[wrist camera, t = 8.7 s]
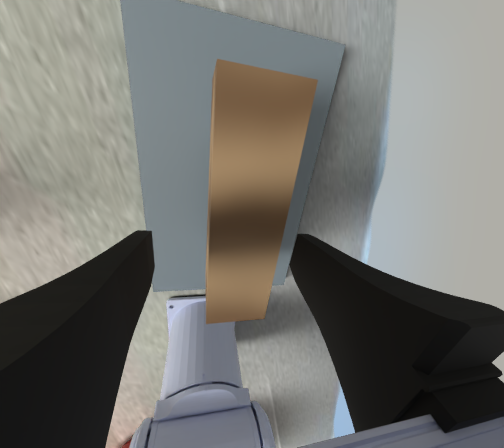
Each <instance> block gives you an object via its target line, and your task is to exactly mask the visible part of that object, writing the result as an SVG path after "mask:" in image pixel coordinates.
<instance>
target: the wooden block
mask: <svg viewBox="0 0 504 448" xmlns="http://www.w3.org/2000/svg"><path fill="white" fill-rule="evenodd" d="M317 82H318V80H317V79H312V78H307V77H303V76H298V75H293V74H288V73H283V72H279V71H274V70H269V69H264V68H259V67H255V66H250V65H245V64H240V63H235V62H231V61H226V60H221V59H217V62H216V66H215V70H214V74H213V79H212V102H211V131H210V159H209V188H208V216H207V245H206V273H205V274H206V324H213V323H224V322H235V321H246V320H257V319H264V318H265V314H266V309H267V305H268V300H269V296H270V292H271V287H272V283H273V278H274V274H275V269H276V265H277V260H278V256H279V252H280V247H281V243H282V238H283V234H284V229H285V225H286V220H287V216H288V211H289V207H290V203H291V198H292V194H293V189H294V185H295V180H296V176H297V171H298V167H299V162H300V158H301V154H302V149H303V145H304V140H305V136H306V131H307V127H308V122H309V118H310V114H311V109H312V105H313V100H314V96H315V91H316V87H317Z"/></svg>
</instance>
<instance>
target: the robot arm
mask: <svg viewBox="0 0 504 448" xmlns="http://www.w3.org/2000/svg"><path fill="white" fill-rule="evenodd" d="M289 265H290V268H291V271H292V274H293V277H294V279H295V282H296V284H297V286H298V288H299V289H300V291H301V293H302V295H303V297H304V299H305V301H306V303H307V304H308V306H309V308H310V310H311V312H312V314H313V316H314V318H315V320H316V322H317V324H318V326H319V328H320V331H321V333H322V336H323V338H324V340H325V343H326V345H327V348H328V351H329V353H330V356H331V359H332V361H333V364H334V367H335V370H336V372H337V375H338V378H339V381H340V384H341V387H342V390H343V393H344V396H345V399H346V403H347V406H348V409H349V412H350V416H351V419H352V423H353V426H354V429H355V433H353V434H349V435H345V436H341V437H337V438H333V439H329V440H325V441H321V442H317V443H314V444H310V445H306V446H302V447H298V448H504V383H503V382H502V381H501V380H500V379H499V378H498V377H500V376H501V375H502V372H501V371H500V370H499V369H498V368H497V367H496V366H495V365H494V364H492V362H493V361H494V360H495V359H496V358H497V357H498V356H499V355H500V354H501V353H502V352H504V311H503V310H501V309H499V308H497V307H495V306H492V305H489V304H485V303H481V302H477V301H473V300H469V299H465V298H461V297H457V296H453V295H449V294H446V293H442V292H439V291H436V290H432V289H429V288H426V287H423V286H420V285H416V284H413V283H411V282H408V281H405V280H402V279H400V278H397V277H394V276H392V275H389V274H387V273H384V272H382V271H380V270H378V269H375V268H373V267H371V266H369V265H366V264H364V263H362V262H360V261H358V260H356V259H354V258H352V257H350V256H349V255H347V254H345V253H343V252H341V251H339V250H338V249H336V248H334V247H332V246H330V245H329V244H327V243H325V242H323V241H321V240H319V239H318V238H316V237H314V236H311V235H309V234H297V238H296V242H295V246H294V249H293V253H292V257H291V260H290V264H289ZM154 269H155V262H154V250H153V238H152V231H139V230H137V231H135V232H134V233H132V234H130V235H129V236H127V237H126V238H124V239H123V240H121V241H120V242H119V243H117V244H115V245H114V246H112V247H111V248H109V249H108V250H106V251H105V252H103V253H102V254H100V255H98V256H97V257H95V258H93V259H92V260H90V261H88V262H86V263H85V264H83V265H81V266H80V267H78V268H76V269H74V270H72V271H71V272H69V273H67V274H65V275H63V276H61V277H59V278H57V279H55V280H53V281H51V282H49V283H47V284H44V285H42V286H40V287H38V288H36V289H33V290H31V291H29V292H26V293H24V294H22V295H19V296H17V297H15V298H12V299H10V300H8V301H5V302H3V303H1V304H0V448H105V446H106V441H107V437H108V432H109V428H110V423H111V419H112V415H113V410H114V406H115V401H116V397H117V393H118V389H119V385H120V381H121V377H122V373H123V369H124V365H125V361H126V357H127V353H128V350H129V346H130V342H131V339H132V336H133V333H134V330H135V328H136V325H137V322H138V320H139V317H140V314H141V312H142V309H143V306H144V303H145V301H146V298H147V295H148V293H149V290H150V287H151V283H152V279H153V274H154ZM166 305H167V317H168V330H169V344H168V351H167V357H166V364H165V370H164V377H163V383H162V390H161V396H160V400H158V401H157V402H156V406H155V412H154V418H153V417H151V418H146V419H144V420H143V422H142V424H141V425H140V426H139V427H138V429H137V430H136V431H135V433H134V435H133V437H132V440H131V443H130V447H129V448H276V446H275V441H274V436H273V432H272V428H271V425H270V422H269V419H268V416H267V414H266V412H265V411H264V410H263V409H262V407H261V406H260V404H259V403H258V402H257V401H251V402H250V396H249V390H248V388H243V386H242V379H241V372H240V365H239V358H238V351H237V344H236V337H235V330H234V328H235V322H224V323H213V324H206V296H197V297H180V298H169V299H168V300H167V303H166ZM171 305H173V306H171Z"/></svg>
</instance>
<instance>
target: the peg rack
mask: <svg viewBox="0 0 504 448" xmlns="http://www.w3.org/2000/svg"><path fill="white" fill-rule="evenodd" d="M120 2H121V11H122V20H123V29H124V38H125V46H126V55H127V64H128V73H129V82H130V90H131V99H132V108H133V117H134V126H135V134H136V143H137V152H138V161H139V170H140V179H141V187H142V196H143V205H144V214H145V223H146V231H152V238H153V250H154V262H155V269H154V274H153V279H152V284H153V292H159V291H178V290H197V289H206V274H205V273H206V245H207V216H208V188H209V159H210V131H211V102H212V79H213V74H214V70H215V66H216V62H217V59H221V60H226V61H231V62H235V63H240V64H245V65H250V66H255V67H259V68H264V69H269V70H274V71H279V72H283V73H288V74H293V75H298V76H303V77H307V78H312V79H317V80H318V82H317V87H316V91H315V96H314V100H313V105H312V109H311V114H310V118H309V122H308V127H307V131H306V136H305V140H304V145H303V149H302V154H301V158H300V162H299V167H298V171H297V176H296V180H295V185H294V189H293V194H292V198H291V203H290V207H289V211H288V216H287V220H286V225H285V229H284V234H283V238H282V243H281V247H280V252H279V256H278V260H277V265H276V269H275V274H274V278H273V283H272V286H273V285H284V282H285V278H286V274H287V270H288V266H289V262H290V259H291V255H292V251H293V247H294V243H295V239H296V235H297V231H298V228H299V224H300V220H301V216H302V212H303V208H304V204H305V200H306V196H307V193H308V189H309V185H310V181H311V177H312V173H313V169H314V165H315V162H316V158H317V154H318V150H319V146H320V142H321V138H322V134H323V131H324V127H325V123H326V119H327V115H328V111H329V107H330V103H331V99H332V96H333V92H334V88H335V84H336V80H337V76H338V72H339V68H340V65H341V61H342V57H343V53H344V49H345V44H341V43H337V42H333V41H330V40H326V39H322V38H318V37H314V36H311V35H307V34H303V33H299V32H295V31H292V30H288V29H284V28H280V27H276V26H273V25H269V24H265V23H261V22H257V21H254V20H250V19H246V18H242V17H238V16H235V15H231V14H227V13H223V12H219V11H216V10H212V9H208V8H204V7H200V6H197V5H193V4H189V3H185V2H181V1H178V0H120Z"/></svg>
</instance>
